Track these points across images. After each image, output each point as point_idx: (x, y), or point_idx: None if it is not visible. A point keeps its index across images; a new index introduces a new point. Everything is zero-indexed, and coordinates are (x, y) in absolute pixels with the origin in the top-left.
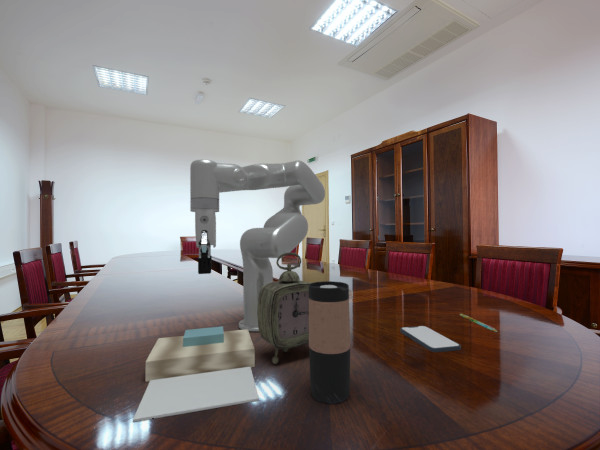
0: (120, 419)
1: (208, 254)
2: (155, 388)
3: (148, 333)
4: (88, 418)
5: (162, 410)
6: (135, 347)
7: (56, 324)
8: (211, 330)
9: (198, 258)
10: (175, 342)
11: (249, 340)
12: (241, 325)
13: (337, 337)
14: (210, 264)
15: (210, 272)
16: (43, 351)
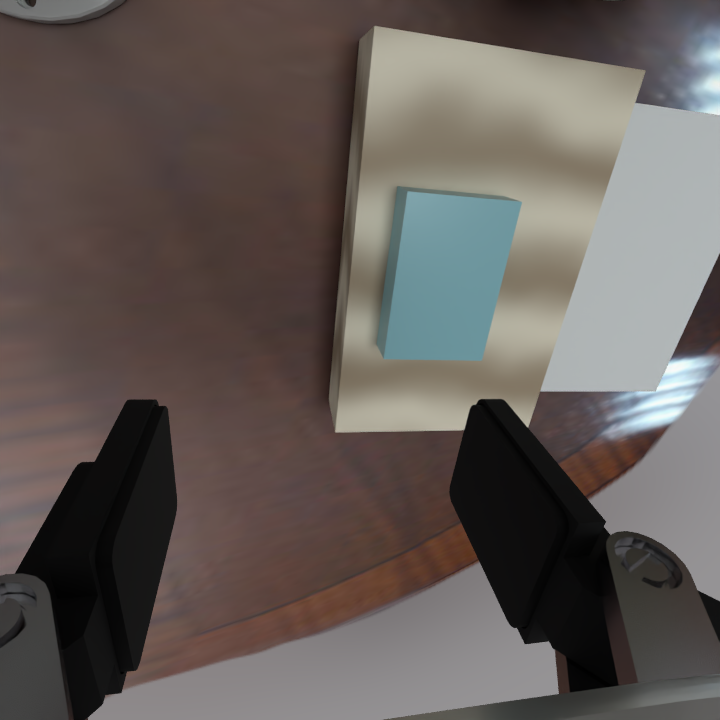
0: (627, 409)
1: (685, 599)
2: (562, 373)
3: (70, 469)
4: (588, 457)
5: (662, 347)
6: (231, 473)
7: None
8: (445, 253)
9: (547, 638)
10: (409, 374)
11: (545, 67)
12: (75, 6)
13: None
14: (549, 462)
15: (500, 404)
16: (189, 652)
